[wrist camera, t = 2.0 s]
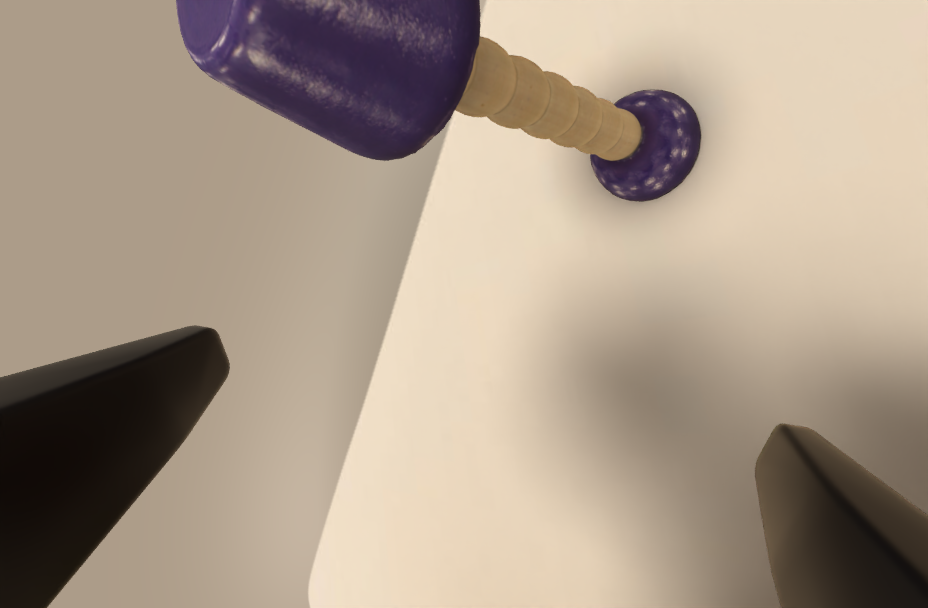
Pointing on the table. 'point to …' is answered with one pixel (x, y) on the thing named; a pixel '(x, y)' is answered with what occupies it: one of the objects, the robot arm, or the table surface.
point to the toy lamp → (427, 84)
